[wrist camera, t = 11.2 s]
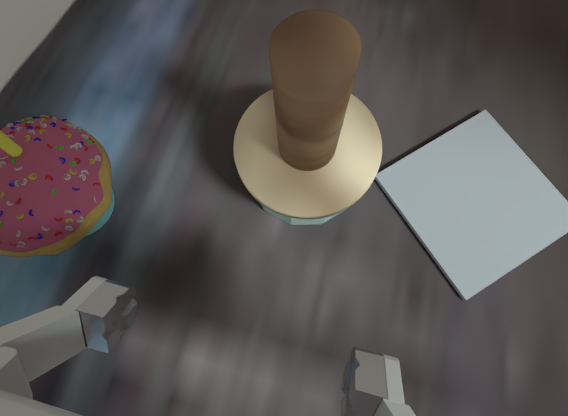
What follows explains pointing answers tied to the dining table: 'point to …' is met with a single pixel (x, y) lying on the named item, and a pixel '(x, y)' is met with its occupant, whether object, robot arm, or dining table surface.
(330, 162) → the lid
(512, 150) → the mat
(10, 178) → the cupcake
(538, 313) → the dining table surface
